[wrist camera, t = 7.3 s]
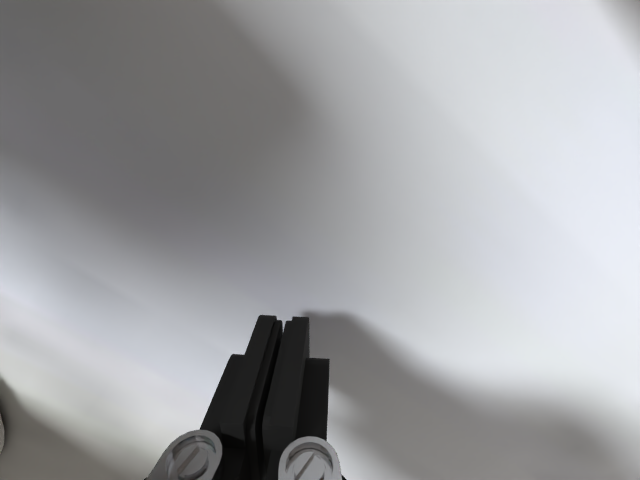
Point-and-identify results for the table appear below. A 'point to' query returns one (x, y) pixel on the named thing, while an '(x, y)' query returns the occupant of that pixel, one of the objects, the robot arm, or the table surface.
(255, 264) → the table surface
